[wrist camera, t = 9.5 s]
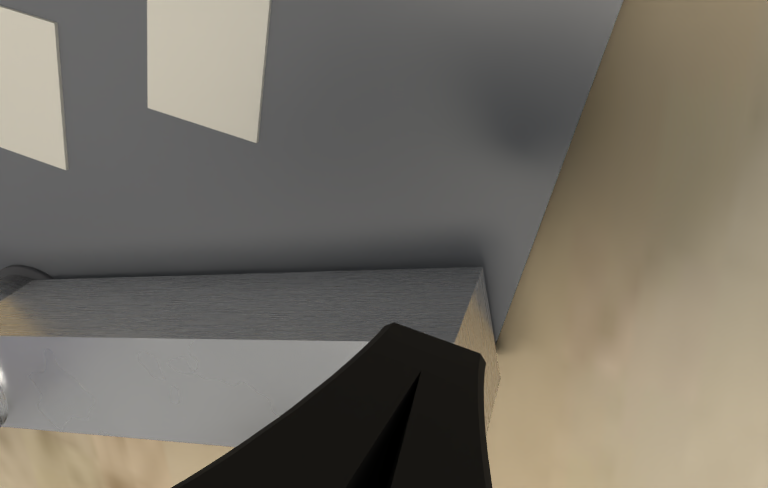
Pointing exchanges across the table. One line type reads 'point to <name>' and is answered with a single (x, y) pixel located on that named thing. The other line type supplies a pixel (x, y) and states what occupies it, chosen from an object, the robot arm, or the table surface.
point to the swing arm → (212, 345)
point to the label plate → (287, 134)
